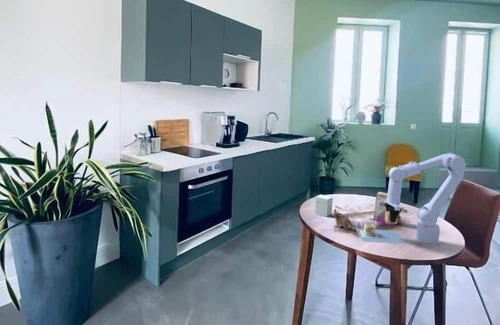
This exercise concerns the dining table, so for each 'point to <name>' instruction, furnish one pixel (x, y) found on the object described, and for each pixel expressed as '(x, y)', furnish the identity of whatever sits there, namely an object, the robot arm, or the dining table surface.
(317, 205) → the small box
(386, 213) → the terracotta block
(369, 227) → the birch block
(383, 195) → the candy bar box
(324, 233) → the dining table surface
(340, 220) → the dinosaur figurine
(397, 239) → the board
